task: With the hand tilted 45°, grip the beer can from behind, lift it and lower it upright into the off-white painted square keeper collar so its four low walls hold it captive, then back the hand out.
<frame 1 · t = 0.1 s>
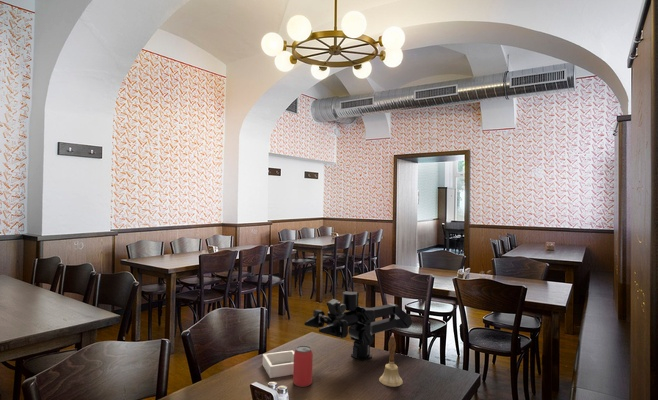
hand: (311, 327, 141), 17 cm above the table, tool horizontal, fingers open, 9 cm apart
beer can: (302, 383, 132), on the table
hand bell: (390, 381, 135), on the table
keeper: (281, 368, 143), on the table
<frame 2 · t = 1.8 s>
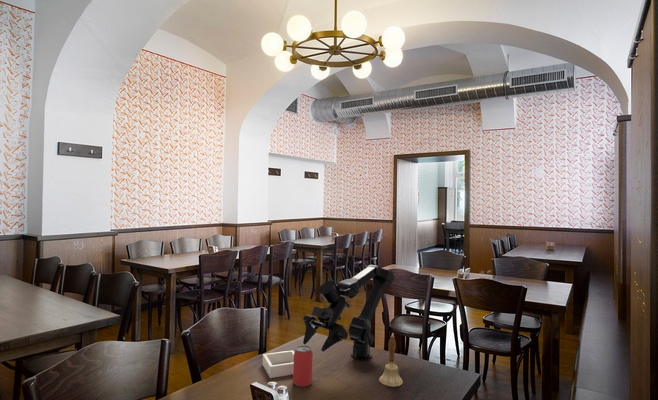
hand: (312, 347, 136), 11 cm above the table, tool tilted 45°, fingers open, 9 cm apart
nothing on the table moved.
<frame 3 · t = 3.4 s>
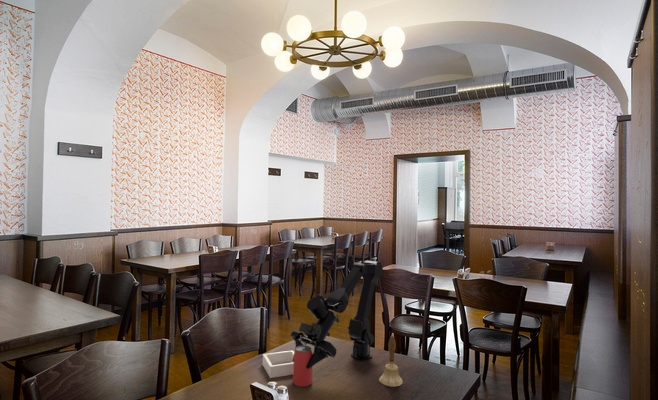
hand: (300, 365, 131), 7 cm above the table, tool tilted 45°, fingers closed on beer can, 7 cm apart
beer can: (302, 383, 132), on the table, touching gripper
everything else where it was.
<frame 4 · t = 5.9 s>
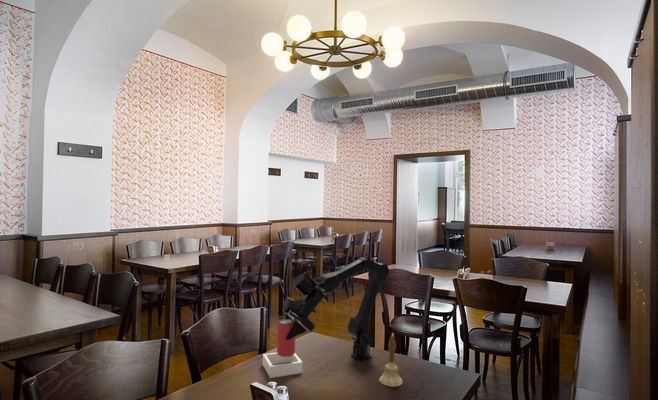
hand: (282, 336, 140), 13 cm above the table, tool tilted 45°, fingers closed on beer can, 7 cm apart
beer can: (286, 354, 141), point 6 cm above the table, touching gripper
everything else where it was.
when the fingers open (8 cm above the table, at t = 8.0 s): beer can drops 1 cm, resting in keeper.
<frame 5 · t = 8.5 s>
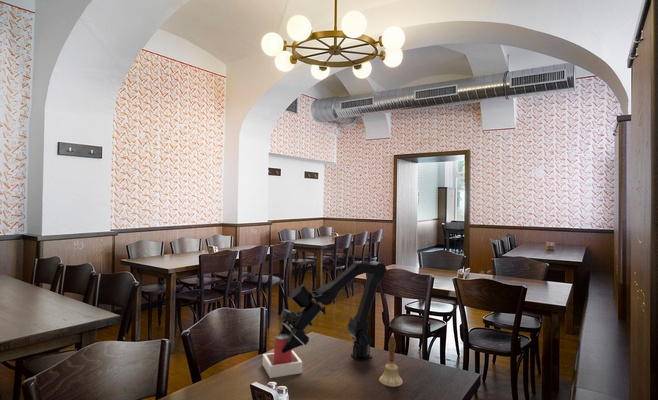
hand: (278, 347, 143), 8 cm above the table, tool tilted 45°, fingers open, 9 cm apart
beer can: (282, 369, 144), resting in keeper
everything else where it was.
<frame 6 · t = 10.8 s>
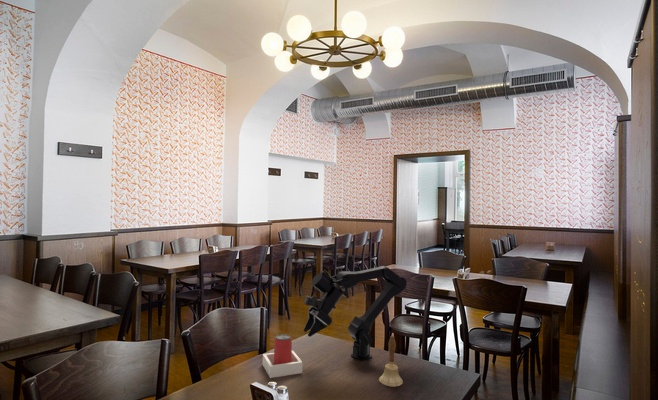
hand: (306, 333, 147), 12 cm above the table, tool tilted 40°, fingers open, 9 cm apart
nothing on the table moved.
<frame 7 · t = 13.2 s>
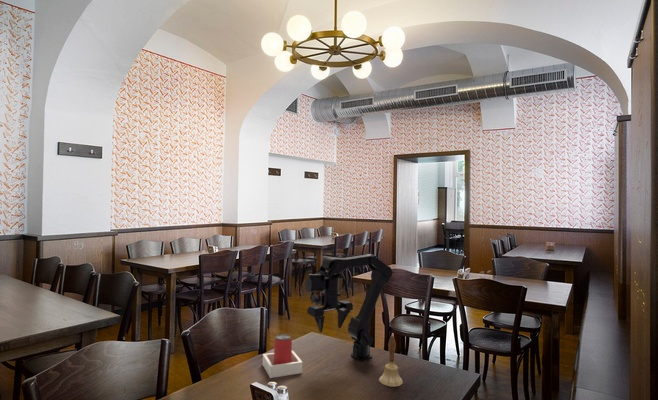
hand: (330, 330, 149), 13 cm above the table, tool pointing down, fingers open, 9 cm apart
nothing on the table moved.
at the end: beer can 0.2 cm off-centre on the keeper, point 0.0 cm above the keeper's base; beer can tilted 0°; the gripper is holding nothing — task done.
